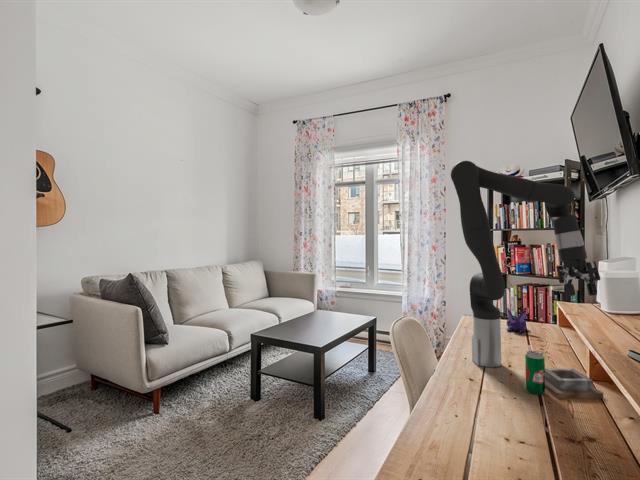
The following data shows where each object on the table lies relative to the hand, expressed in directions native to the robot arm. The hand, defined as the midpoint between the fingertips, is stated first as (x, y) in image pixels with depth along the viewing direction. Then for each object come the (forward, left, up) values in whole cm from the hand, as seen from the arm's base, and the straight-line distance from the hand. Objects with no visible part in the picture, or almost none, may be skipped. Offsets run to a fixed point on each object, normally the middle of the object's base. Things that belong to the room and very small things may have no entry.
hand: (582, 295), depth 121 cm
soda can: (-20, -10, -28) cm, 35 cm away
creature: (+5, +60, -28) cm, 66 cm away
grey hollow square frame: (-9, -7, -27) cm, 30 cm away
